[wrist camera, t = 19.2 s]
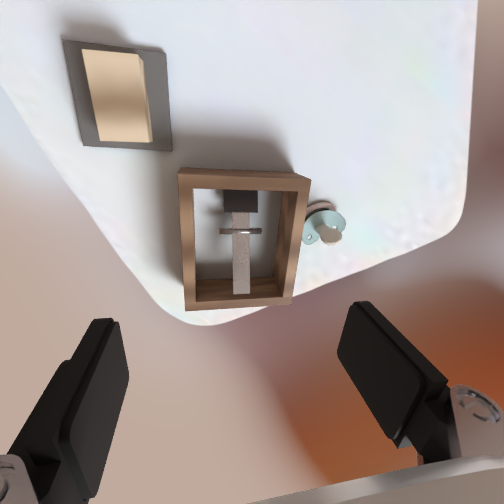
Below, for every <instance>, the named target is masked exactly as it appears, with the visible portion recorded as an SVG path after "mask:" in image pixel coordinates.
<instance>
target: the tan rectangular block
mask: <svg viewBox="0 0 504 504" xmlns="http://www.w3.org/2000/svg"><path fill="white" fill-rule="evenodd" d="M82 54H83V59H84V64H85V69H86V74H87V78H88V83H89V88H90V93H91V98H92V103H93V108H94V113H95V118H96V123H97V128H98V133H99V138H100V141H118V142H153V136H152V128H151V120H150V112H149V103H148V95H147V87H146V78H145V70H144V62H143V60H142V59H141V58H140V57H139V55H138V54H130V53H119V52H108V51H98V50H87V49H82Z"/></svg>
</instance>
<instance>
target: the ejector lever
mask: <svg viewBox="0 0 504 504" xmlns="http://www.w3.org/2000/svg"><path fill="white" fill-rule="evenodd" d="M223 197H224V212H232V228H219V234H232V261H233V294H249V293H250V248H249V234H261V233H262V229H261V228H249V213H258V190H232V189H223Z"/></svg>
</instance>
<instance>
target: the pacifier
mask: <svg viewBox="0 0 504 504" xmlns="http://www.w3.org/2000/svg"><path fill="white" fill-rule="evenodd" d="M319 208H328V209H329V210H324V211H319V212H317V213H314V214H313V215H311V216H310V217H309V218H308V219H307V220H306V221H305V223H304V228H303V234H302V241H303V242H304V243H305V244H307V245H310V244H312V243H314V242H316V241H317V240H318V239H319V237H320V238H321V240H322V241H323V242H324V243H325V244H327V245H336V244H338V243H339V242H340V241H341V239H342V234H341V232H342V231H343V230H344V229H345V226H346V221H345V219H344V217H343V216H342V215H341V214H340V213H338V212H336V208H335V206H334V205H333V204H331V203H327V202H320V203H316V204H313V205H311V206H309V207H308V208H307V209H306V216H307V215H308V214H309V213H310V212H312V211H313V210H316V209H319ZM306 216H305V217H306ZM332 226H337V228H336V229H334V228H332ZM310 234H311V238H310V239H308V235H310Z"/></svg>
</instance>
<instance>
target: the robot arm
mask: <svg viewBox="0 0 504 504" xmlns="http://www.w3.org/2000/svg"><path fill="white" fill-rule="evenodd" d="M337 355H338V358H339V360H340V362H341V363H342V365H343V366H344V368H345V370H346V371H347V373H348V375H349V376H350V378H351V380H352V381H353V383H354V384H355V386H356V388H357V389H358V391H359V392H360V394H361V396H362V397H363V398H364V401H365V402H366V404H367V405H368V407H369V409H370V410H371V412H372V414H373V415H374V417H375V418H376V420H377V421H378V423H379V425H380V427H381V428H382V430H383V431H384V433H385V435H386V436H387V437H388V438H389V439H392V441H393V442H394V444H395V445H396V447H397V449H399V448H404V447H409V446H411V445H413V446H414V447H415V449H416V450H417V466H415V467H411V468H406V469H402V470H397V471H392V472H387V473H383V474H378V475H374V476H370V477H365V478H360V479H355V480H351V481H346V482H342V483H337V484H333V485H329V486H324V487H320V488H315V489H310V490H307V491H302V492H297V493H293V494H289V495H284V496H280V497H275V498H270V499H266V500H262V501H257V502H253V503H249V504H504V412H503V410H502V409H501V408H500V407H499V406H498V405H497V403H495V402H494V401H493V400H492V399H491V398H489V397H488V396H486V395H485V394H483V393H482V392H480V391H478V390H476V389H474V388H472V387H469V386H466V385H455V386H453V387H452V388H451V389H450V388H449V387H448V386H447V385H446V384H447V382H448V379H447V378H446V377H445V376H444V375H443V374H442V373H441V372H439V370H438V369H437V368H436V367H435V366H434V365H432V363H430V361H428V360H427V359H426V357H424V355H423V354H422V353H421V352H419V351H418V350H417V349H416V348H415V347H414V346H413V345H412V344H411V343H410V342H409V341H408V340H407V339H406V338H405V337H404V336H403V335H402V334H401V333H400V332H399V331H398V330H397V329H396V328H395V327H394V326H393V325H392V324H391V323H390V322H389V321H388V320H387V319H386V318H385V317H384V316H383V315H382V314H381V313H380V312H379V311H378V310H377V309H376V308H375V307H374V306H373V305H372V304H371V303H370V302H368V301H361V302H360V301H359V302H354V303H353V305H351V306H350V308H349V311H348V314H347V318H346V321H345V325H344V328H343V332H342V335H341V339H340V342H339V346H338V349H337ZM128 381H129V371H128V366H127V361H126V356H125V351H124V346H123V341H122V336H121V331H120V326H119V322H114V320H113V319H112V318H101V319H94V320H93V321H92V322H91V324H90V326H89V328H88V329H87V331H86V333H85V335H84V336H83V338H82V340H81V342H80V344H79V345H78V347H77V349H76V350H75V352H74V354H73V356H72V358H71V359H70V360H65V361H64V362H62V363H61V364H60V366H59V367H58V369H57V370H56V372H55V374H54V376H53V377H52V379H51V380H50V382H49V384H48V386H47V387H46V389H45V391H44V392H43V394H42V396H41V397H40V399H39V401H38V402H37V404H36V406H35V407H34V409H33V411H32V412H31V414H30V416H29V417H28V419H27V421H26V423H25V424H24V426H23V428H22V429H21V431H20V433H19V434H18V436H17V438H16V439H15V441H14V443H13V444H12V446H11V448H10V449H9V451H8V453H7V454H6V455H0V504H88V502H89V499H90V498H94V497H95V496H96V494H97V492H98V489H99V485H100V481H101V478H102V474H103V471H104V467H105V464H106V460H107V456H108V453H109V450H110V446H111V442H112V439H113V435H114V432H115V428H116V424H117V421H118V418H119V414H120V410H121V406H122V403H123V400H124V396H125V392H126V389H127V386H128Z"/></svg>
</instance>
